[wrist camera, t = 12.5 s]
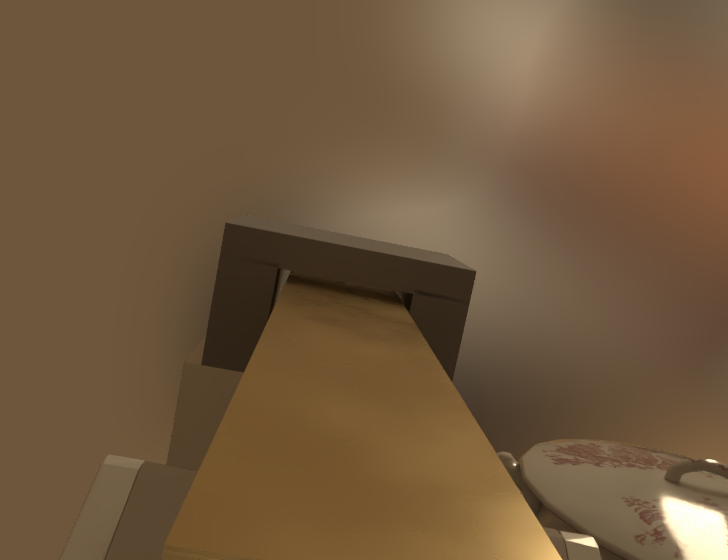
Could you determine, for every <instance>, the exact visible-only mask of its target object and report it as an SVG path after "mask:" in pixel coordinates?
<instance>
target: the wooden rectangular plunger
mask: <svg viewBox="0 0 728 560" xmlns="http://www.w3.org/2000/svg"><path fill="white" fill-rule="evenodd" d="M162 560H562V558H561V557H560V555H559V553H558V552H557V550H556V549H555V547H554V545H553V544H552V542H551V541H550V539H549V537H548V536H547V534H546V533H545V531H544V529H543V528H542V526H541V525H540V523H539V521H538V520H537V518H536V516H535V515H534V513H533V512H532V510H531V508H530V507H529V505H528V504H527V502H526V500H525V499H524V497H523V496H522V494H521V492H520V491H519V489H518V488H517V486H516V484H515V483H514V481H513V480H512V478H511V476H510V475H509V473H508V472H507V470H506V468H505V467H504V465H503V464H502V462H501V460H500V459H499V457H498V455H497V454H496V453H495V451H494V450H493V447H492V446H491V444H490V443H489V441H488V439H487V438H486V436H485V435H484V433H483V431H482V430H481V428H480V427H479V425H478V423H477V422H476V420H475V419H474V417H473V416H472V414H471V412H470V411H469V409H468V407H467V406H466V404H465V403H464V401H463V399H462V398H461V396H460V395H459V393H458V391H457V390H456V388H455V386H454V385H453V383H452V382H451V380H450V378H449V377H448V375H447V374H446V372H445V370H444V369H443V367H442V366H441V364H440V362H439V361H438V359H437V358H436V356H435V354H434V353H433V351H432V350H431V348H430V346H429V345H428V343H427V341H426V340H425V338H424V337H423V335H422V333H421V332H420V330H419V329H418V327H417V325H416V324H415V322H414V321H413V319H412V317H411V316H410V314H409V313H408V311H407V309H406V308H405V306H404V305H403V303H402V301H401V300H400V298H399V297H398V295H397V293H396V292H395V290H391V289H385V288H380V287H375V286H370V285H364V284H359V283H354V282H348V281H343V280H338V279H333V278H327V277H322V276H317V275H312V274H306V273H301V272H296V271H291V272H290V274H289V277H288V279H287V281H286V283H285V285H284V287H283V290H282V292H281V294H280V296H279V298H278V300H277V302H276V305H275V307H274V309H273V311H272V313H271V315H270V318H269V320H268V322H267V324H266V326H265V328H264V330H263V333H262V335H261V337H260V339H259V341H258V343H257V346H256V348H255V350H254V352H253V354H252V356H251V358H250V361H249V363H248V365H247V367H246V369H245V371H244V374H243V376H242V378H241V380H240V382H239V384H238V387H237V389H236V391H235V393H234V395H233V397H232V399H231V402H230V404H229V406H228V408H227V410H226V412H225V415H224V417H223V419H222V421H221V423H220V425H219V427H218V430H217V432H216V434H215V436H214V438H213V440H212V443H211V445H210V447H209V449H208V451H207V453H206V455H205V458H204V460H203V462H202V464H201V466H200V468H199V471H198V473H197V475H196V477H195V479H194V481H193V483H192V486H191V488H190V490H189V492H188V494H187V496H186V499H185V501H184V503H183V505H182V507H181V509H180V512H179V514H178V516H177V518H176V520H175V522H174V524H173V527H172V529H171V531H170V533H169V535H168V537H167V540H166V542H165V544H164V548H163V554H162Z"/></svg>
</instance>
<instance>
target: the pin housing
mask: <svg viewBox="0 0 728 560" xmlns="http://www.w3.org/2000/svg"><path fill="white" fill-rule="evenodd" d="M285 270H291V271H296V272H301V273H306V274H312V275H317V276H322V277H327V278H333V279H338V280H343V281H348V282H354V283H359V284H364V285H370V286H375V287H380V288H385V289H391V290H395V292H396V293H397V295H398V297H399V298H400V300H401V301H402V303H403V305H404V306H405V308H406V309H407V311H408V313H409V314H410V316H411V317H412V319H413V321H414V322H415V324H416V325H417V327H418V329H419V330H420V332H421V333H422V335H423V337H424V338H425V340H426V341H427V343H428V345H429V346H430V348H431V350H432V351H433V353H434V354H435V356H436V358H437V359H438V361H439V362H440V364H441V366H442V367H443V369H444V370H445V372H446V374H447V375H448V377H449V378H450V380H451V382H452V380H453V376H454V371H455V367H456V362H457V358H458V353H459V348H460V344H461V339H462V335H463V330H464V325H465V321H466V317H467V312H468V307H469V303H470V298H471V294H472V289H473V285H474V280H475V275H476V271H475V270H474V269H472V268H470V267H469V266H467V265H465V264H463V263H461V262H460V261H458V260H456V259H455V258H453V257H451V256H449V255H447V254H442V253H438V252H432V251H427V250H422V249H417V248H412V247H406V246H402V245H397V244H391V243H386V242H380V241H376V240H371V239H366V238H361V237H355V236H350V235H345V234H340V233H335V232H330V231H324V230H320V229H314V228H309V227H304V226H299V225H294V224H288V223H284V222H279V221H273V220H268V219H263V218H258V217H253V216H248V215H246V216H244V217H241V218H238V219H235V220H232V221H229V222H226V224H225V230H224V235H223V241H222V247H221V253H220V258H219V264H218V270H217V276H216V282H215V287H214V293H213V299H212V305H211V310H210V317H209V322H208V328H207V334H206V336H205V338H204V339H203V340H202V341H201V342H200V343H199V344H198V346H197V347H196V348H195V349H194V350H193V352H192V353H191V354H190V355H189V356H188V358H187V359H186V360H185V361H184V364H183V370H182V377H181V382H180V388H179V394H178V399H177V405H176V411H175V417H174V423H173V429H172V435H171V441H170V447H169V452H168V458H167V464H166V465H169V466H175V467H180V468H186V469H191V470H197V471H199V468H200V466H201V464H202V462H203V460H204V458H205V455H206V453H207V451H208V449H209V447H210V445H211V443H212V440H213V438H214V436H215V434H216V432H217V430H218V427H219V425H220V423H221V421H222V419H223V417H224V415H225V412H226V410H227V408H228V406H229V404H230V402H231V399H232V397H233V395H234V393H235V391H236V389H237V387H238V384H239V382H240V380H241V378H242V376H243V374H244V371H245V369H246V367H247V365H248V363H249V361H250V358H251V356H252V354H253V352H254V350H255V348H256V346H257V343H258V341H259V339H260V337H261V335H262V333H263V330H264V328H265V326H266V324H267V322H268V320H269V318H270V315H271V313H272V311H273V309H274V307H275V305H276V302H277V300H278V298H279V296H280V293H281V287H282V281H283V277H284V271H285Z"/></svg>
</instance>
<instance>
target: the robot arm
mask: <svg viewBox="0 0 728 560" xmlns="http://www.w3.org/2000/svg"><path fill="white" fill-rule="evenodd" d="M197 473H198V471H197V470H191V469H186V468H180V467H175V466H169V465H163V464H158V463H153V462H147V461H144V460H138V459H132V458H126V457H119V456H114V455H108V456H107V457H106V458H105V460H104V461H103V462H102V464H101V465H100V467H99V469H98V472H97V474H96V476H95V478H94V481H93V483H92V485H91V487H90V490H89V492H88V494H87V496H86V499H85V501H84V503H83V505H82V508H81V510H80V512H79V514H78V517H77V519H76V521H75V523H74V526H73V528H72V530H71V532H70V535H69V537H68V539H67V541H66V544H65V546H64V548H63V550H62V552H61V555H60V557H59V559H58V560H162V554H163V548H164V544H165V542H166V540H167V537H168V535H169V533H170V531H171V529H172V527H173V524H174V522H175V520H176V518H177V516H178V514H179V512H180V509H181V507H182V505H183V503H184V501H185V499H186V496H187V494H188V492H189V490H190V488H191V486H192V483H193V481H194V479H195V477H196V475H197ZM542 528H543V529H544V531H545V533H546V534H547V536H548V537H549V539H550V541H551V542H552V544H553V545H554V547H555V549H556V550H557V552H558V553H559V555H560V557H561V558H562V560H601V555H600V551H599V547H598V544H597V543H596V541H595V540H594V538H593V537H591V536H589V535H584V534H578V533H571V532H564V531H557V530H556V529H552V528H545V527H542Z"/></svg>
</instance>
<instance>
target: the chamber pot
mask: <svg viewBox="0 0 728 560" xmlns="http://www.w3.org/2000/svg"><path fill="white" fill-rule="evenodd" d="M496 454H497V455H498V457H499V459H500V460H501V462H502V464H503V465H504V467H505V468H506V470H507V472H508V473H509V475H510V476H511V478H512V480H513V481H514V483H515V484H516V486H517V487H518V488H519V489H520V490H521V491H522V492H523V493H524V499H525V500H526V502H527V504H528V505H529V507H530V508H531V510H532V512H533V513H534V515H535V516H536V518H537V520H538V521H539V523H540V525H541V526H542V527H545V528H552V529H556V530H557V531H564V532H571V533H578V534H584V535H589V536H591V537H593V538H594V540H595V541H596V543H597V544H598V547H599V551H600V555H601V560H728V465H727V464H724V463H721V462H718V461H716V460H708V459H692V458H689V457H686V456H682V455H678V454H673V453H670V452H666V451H662V450H657V449H653V448H649V447H645V446H639V445H632V444H626V443H619V442H612V441H600V440H584V439H582V440H581V439H559V440H554V441H549V442H545V443H540V444H536V445H534V446H533V447H532V448H531V449H530V450H528V451H527V452H526V453H525V454H524V455H523V456H522V457H521V458H520V459H519V461H520V463H518V462H517V461H515V459H514V458H513V456H512V455H511V454H510V453H507V452H499V453H496Z"/></svg>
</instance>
